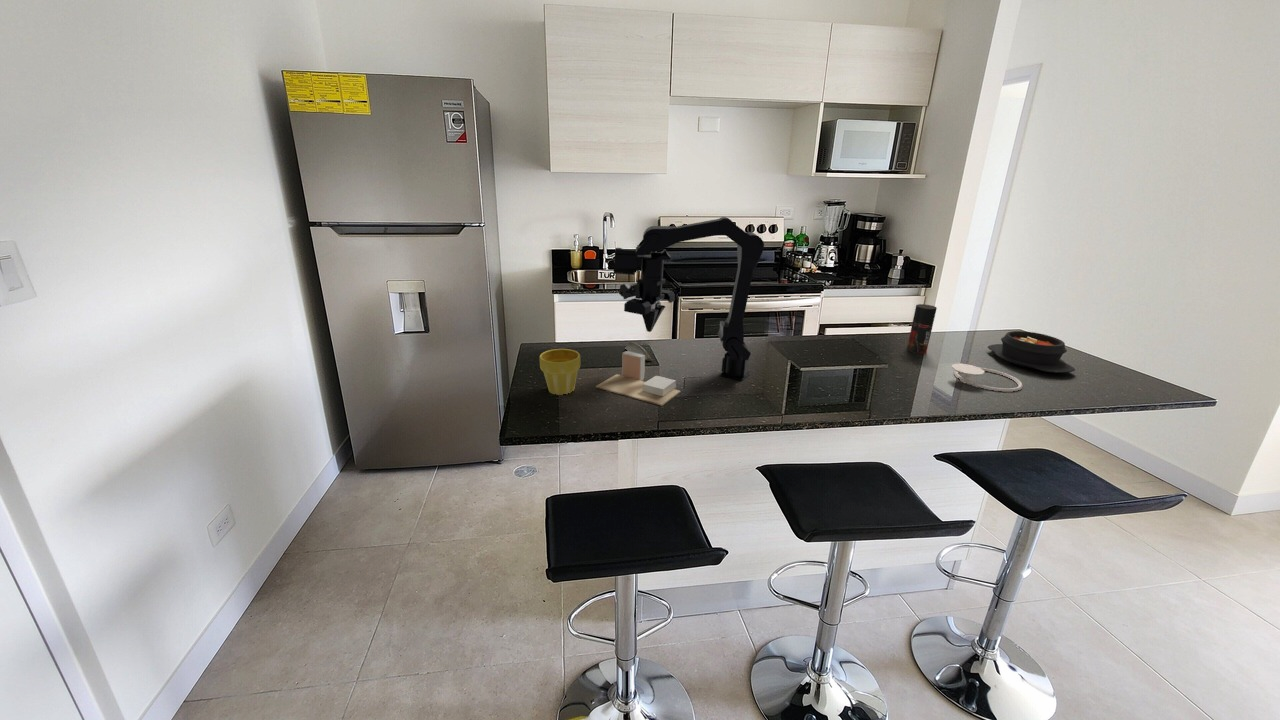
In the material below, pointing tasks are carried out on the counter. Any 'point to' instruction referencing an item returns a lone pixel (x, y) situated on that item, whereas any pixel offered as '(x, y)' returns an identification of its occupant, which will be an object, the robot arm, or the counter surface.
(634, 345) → the ceramic fragment
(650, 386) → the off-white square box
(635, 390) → the cork mat
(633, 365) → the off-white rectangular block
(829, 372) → the counter surface
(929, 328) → the deodorant
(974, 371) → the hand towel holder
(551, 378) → the plant pot
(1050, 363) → the casserole
